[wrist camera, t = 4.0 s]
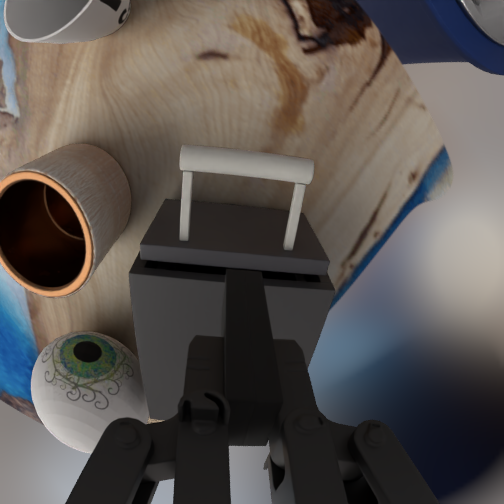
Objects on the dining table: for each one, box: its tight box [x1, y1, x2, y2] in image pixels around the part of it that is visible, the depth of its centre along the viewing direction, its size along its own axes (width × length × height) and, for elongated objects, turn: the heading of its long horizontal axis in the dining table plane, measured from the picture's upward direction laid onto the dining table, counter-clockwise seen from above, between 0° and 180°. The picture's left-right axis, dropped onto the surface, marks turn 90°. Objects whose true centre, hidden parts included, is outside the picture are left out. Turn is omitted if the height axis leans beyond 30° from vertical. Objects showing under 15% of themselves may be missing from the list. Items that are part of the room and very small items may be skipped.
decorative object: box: [31, 331, 149, 453], centre depth 30 cm, size 15×15×15 cm
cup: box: [4, 0, 131, 44], centre depth 15 cm, size 8×8×10 cm
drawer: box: [140, 144, 330, 282], centre depth 26 cm, size 23×13×9 cm, turn 172°
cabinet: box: [129, 252, 335, 421], centre depth 29 cm, size 18×14×11 cm
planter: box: [0, 144, 131, 298], centre depth 23 cm, size 11×11×10 cm
